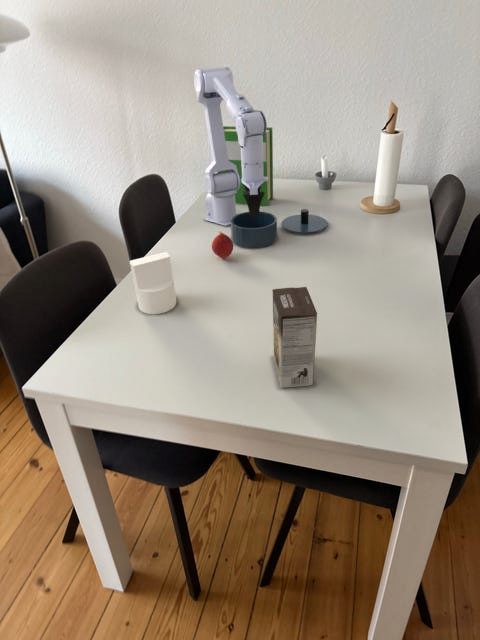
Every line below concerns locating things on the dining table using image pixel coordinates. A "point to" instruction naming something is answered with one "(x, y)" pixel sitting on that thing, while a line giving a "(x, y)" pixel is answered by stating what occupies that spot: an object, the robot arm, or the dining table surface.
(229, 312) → the dining table surface
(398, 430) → the dining table surface
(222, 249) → the red round fruit
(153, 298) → the base with upright slab
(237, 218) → the pot
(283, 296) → the coffee box
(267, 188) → the hardback book
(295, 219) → the pot lid
